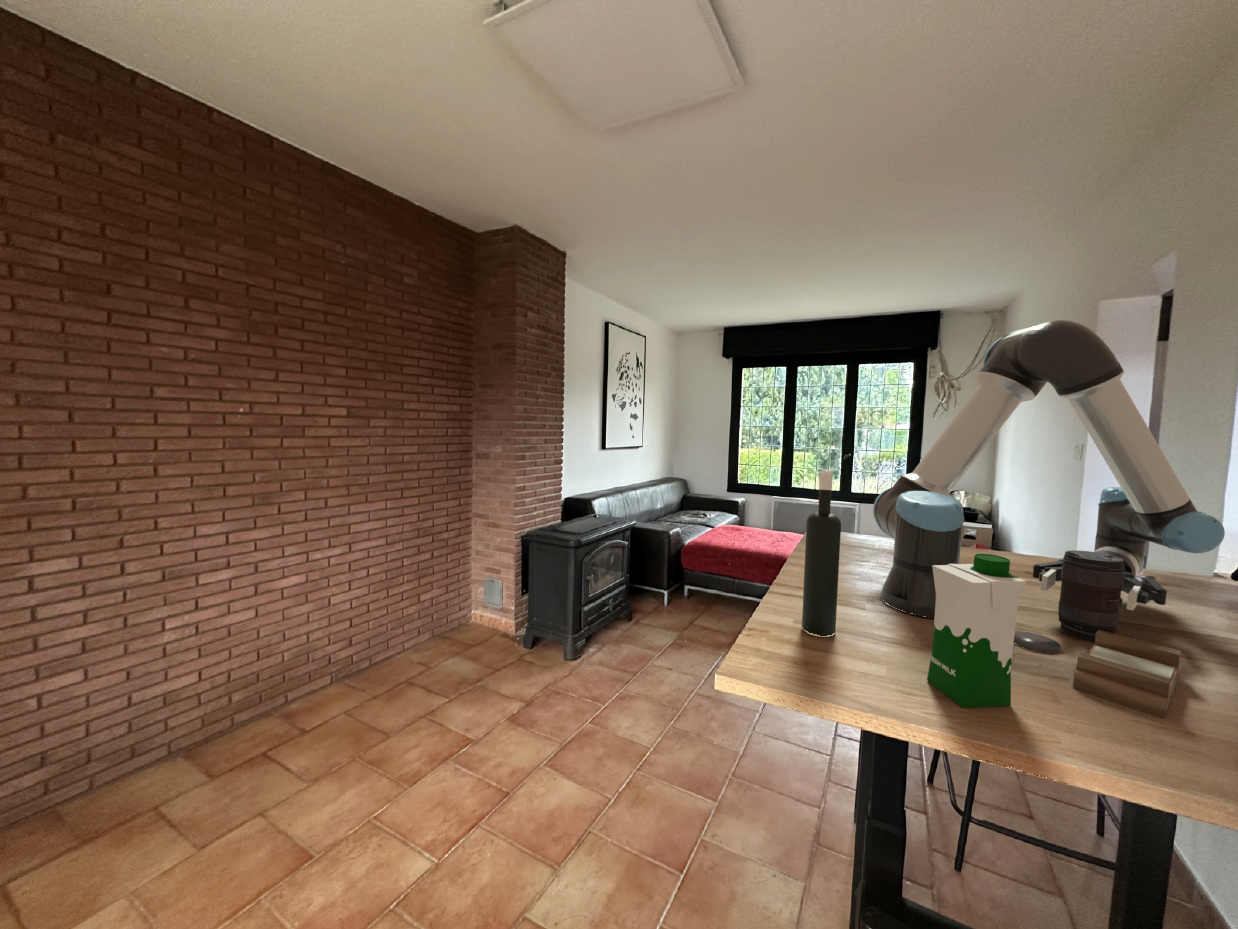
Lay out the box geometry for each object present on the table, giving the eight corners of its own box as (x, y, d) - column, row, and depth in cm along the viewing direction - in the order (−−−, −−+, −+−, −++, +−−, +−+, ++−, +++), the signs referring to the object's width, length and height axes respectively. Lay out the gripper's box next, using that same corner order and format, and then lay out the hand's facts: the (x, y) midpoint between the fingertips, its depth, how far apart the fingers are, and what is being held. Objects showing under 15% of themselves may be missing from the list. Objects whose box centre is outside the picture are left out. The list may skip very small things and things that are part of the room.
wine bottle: (835, 627, 91) (843, 469, 88) (835, 640, 86) (843, 473, 82) (802, 622, 93) (810, 468, 90) (800, 634, 88) (807, 471, 85)
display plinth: (1164, 718, 64) (1168, 686, 63) (1072, 687, 71) (1076, 658, 71) (1178, 677, 74) (1181, 649, 74) (1096, 653, 81) (1099, 628, 81)
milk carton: (1023, 709, 66) (1037, 567, 64) (960, 712, 65) (973, 568, 63) (971, 675, 74) (981, 548, 72) (915, 677, 74) (925, 550, 72)
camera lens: (1099, 628, 91) (1108, 551, 89) (1128, 648, 83) (1138, 564, 82) (1046, 622, 93) (1054, 547, 92) (1069, 641, 86) (1078, 559, 84)
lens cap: (1015, 650, 83) (1016, 644, 83) (1002, 633, 89) (1002, 628, 89) (1068, 658, 80) (1068, 652, 80) (1050, 640, 87) (1050, 635, 87)
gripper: (1194, 604, 89) (1182, 636, 76) (1034, 571, 108) (1002, 593, 94) (1199, 564, 89) (1188, 590, 75) (1038, 538, 107) (1006, 556, 94)
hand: (1085, 592), depth 85 cm, fingers open, 10 cm apart
